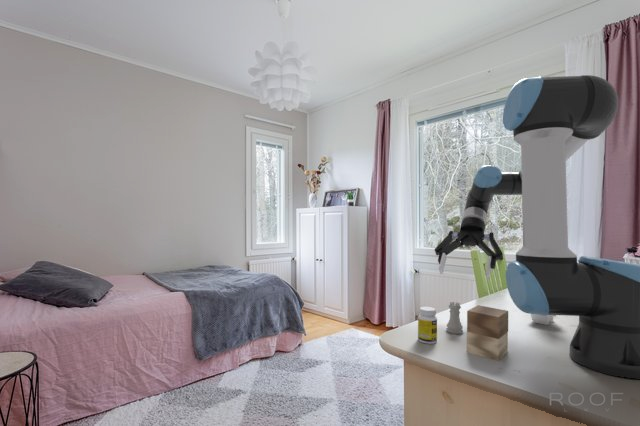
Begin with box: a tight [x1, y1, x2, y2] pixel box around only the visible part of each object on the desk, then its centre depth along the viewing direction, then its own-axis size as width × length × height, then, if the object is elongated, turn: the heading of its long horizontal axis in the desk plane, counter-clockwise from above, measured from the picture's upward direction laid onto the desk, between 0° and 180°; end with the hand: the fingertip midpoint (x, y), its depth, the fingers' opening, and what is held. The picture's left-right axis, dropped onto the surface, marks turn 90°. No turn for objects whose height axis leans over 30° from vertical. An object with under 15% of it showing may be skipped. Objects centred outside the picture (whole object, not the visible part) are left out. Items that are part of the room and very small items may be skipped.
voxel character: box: [530, 314, 557, 326], centre depth 105 cm, size 7×12×15 cm
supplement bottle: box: [417, 306, 438, 345], centre depth 89 cm, size 5×5×8 cm
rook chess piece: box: [446, 301, 464, 335], centre depth 96 cm, size 4×4×8 cm
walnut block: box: [466, 304, 509, 339], centre depth 82 cm, size 7×7×5 cm
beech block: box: [466, 331, 509, 361], centre depth 82 cm, size 7×7×5 cm
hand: (463, 273), depth 105 cm, fingers open, 13 cm apart
